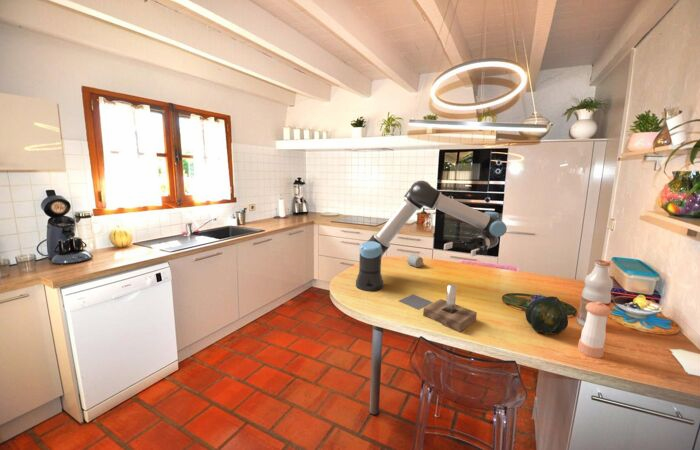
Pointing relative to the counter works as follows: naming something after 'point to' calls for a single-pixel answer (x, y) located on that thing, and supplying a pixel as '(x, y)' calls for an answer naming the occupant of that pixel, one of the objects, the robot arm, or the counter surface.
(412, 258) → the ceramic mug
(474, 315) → the socket block
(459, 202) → the robot arm
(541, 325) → the squash
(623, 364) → the counter surface
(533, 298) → the pudding
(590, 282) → the fruit juice
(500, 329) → the counter surface
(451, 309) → the metal pin
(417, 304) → the rubber mat
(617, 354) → the counter surface
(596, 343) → the pepper shaker
